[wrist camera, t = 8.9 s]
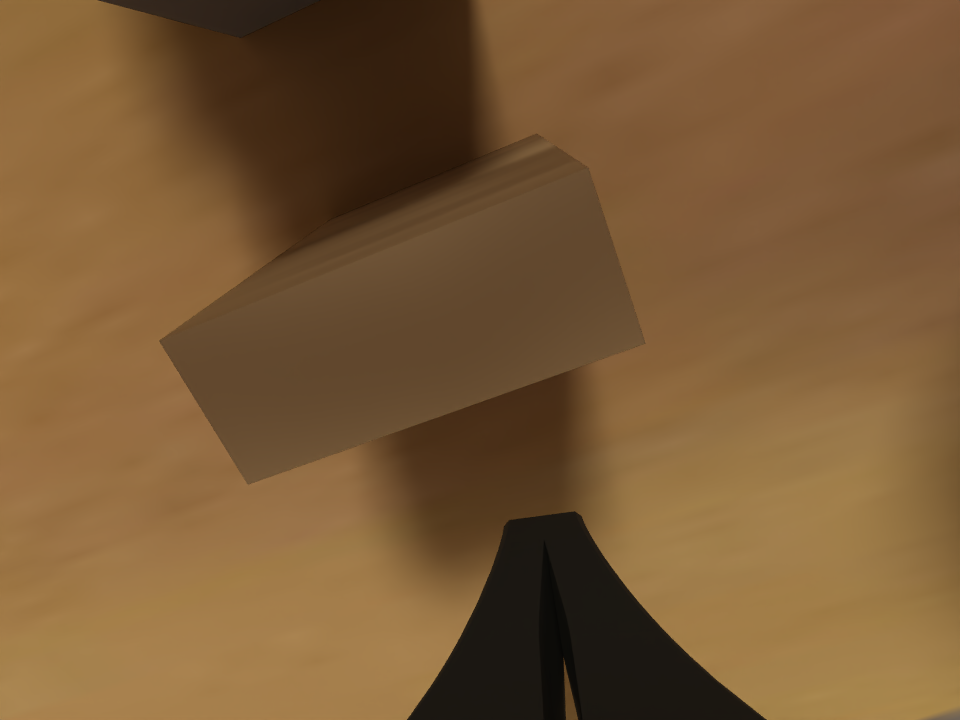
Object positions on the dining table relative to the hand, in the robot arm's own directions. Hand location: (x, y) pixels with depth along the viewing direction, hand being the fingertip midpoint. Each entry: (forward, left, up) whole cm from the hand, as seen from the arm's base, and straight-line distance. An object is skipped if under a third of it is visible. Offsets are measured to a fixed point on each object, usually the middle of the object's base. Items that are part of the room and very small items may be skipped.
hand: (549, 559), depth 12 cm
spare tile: (+6, 0, -5) cm, 8 cm away
